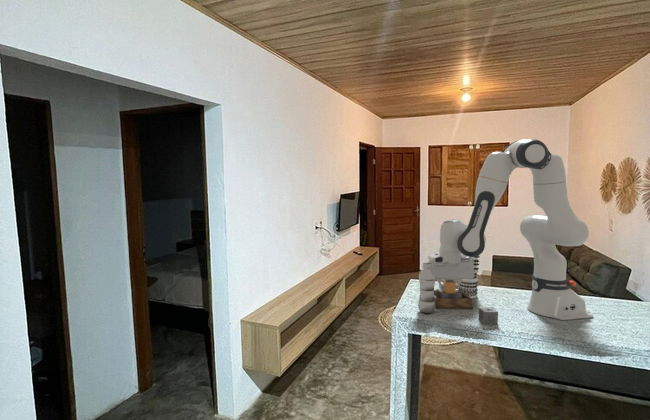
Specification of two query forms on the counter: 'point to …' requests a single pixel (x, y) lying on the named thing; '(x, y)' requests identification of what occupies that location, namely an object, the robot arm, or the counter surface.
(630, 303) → the counter surface
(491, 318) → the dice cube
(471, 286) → the decorative candle
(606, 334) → the counter surface
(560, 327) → the counter surface
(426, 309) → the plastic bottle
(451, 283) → the block
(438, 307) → the walled box
